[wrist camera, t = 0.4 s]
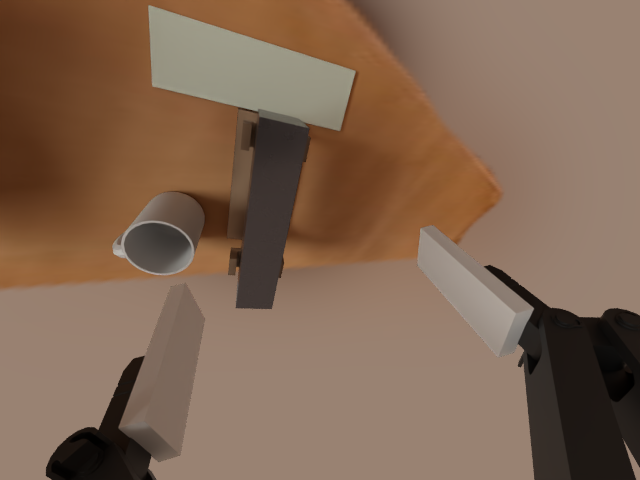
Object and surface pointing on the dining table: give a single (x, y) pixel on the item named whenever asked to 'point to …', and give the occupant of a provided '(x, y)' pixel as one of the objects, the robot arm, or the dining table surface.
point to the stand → (243, 181)
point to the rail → (269, 205)
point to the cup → (163, 234)
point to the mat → (245, 71)
